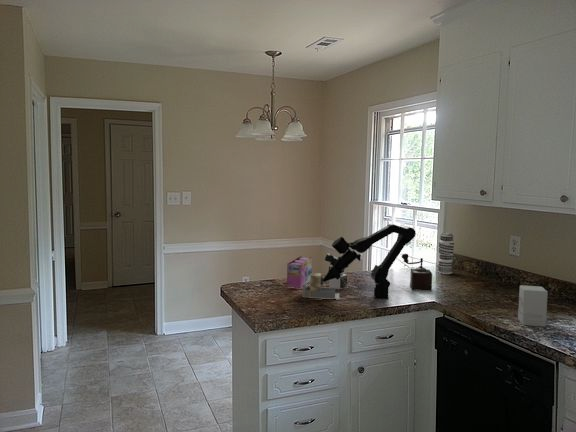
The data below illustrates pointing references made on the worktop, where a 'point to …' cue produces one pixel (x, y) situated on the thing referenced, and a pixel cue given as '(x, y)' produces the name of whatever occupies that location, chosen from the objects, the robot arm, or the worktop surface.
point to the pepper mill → (419, 276)
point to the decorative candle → (445, 253)
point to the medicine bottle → (339, 282)
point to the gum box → (299, 272)
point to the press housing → (320, 292)
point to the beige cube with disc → (316, 282)
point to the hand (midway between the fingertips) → (323, 281)
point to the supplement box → (532, 305)
